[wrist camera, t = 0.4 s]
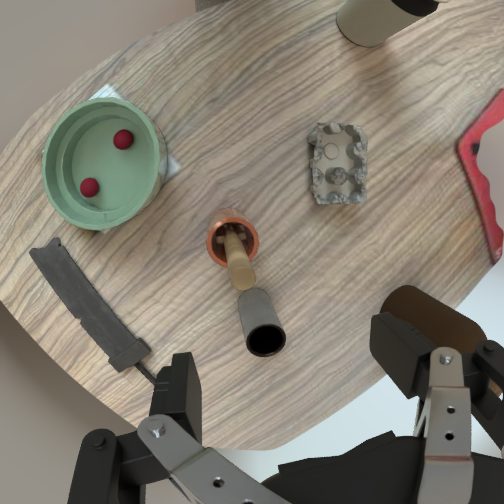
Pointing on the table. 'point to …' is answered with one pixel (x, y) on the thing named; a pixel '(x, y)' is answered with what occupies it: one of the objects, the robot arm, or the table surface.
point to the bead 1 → (89, 187)
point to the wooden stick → (236, 256)
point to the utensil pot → (218, 249)
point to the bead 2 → (123, 139)
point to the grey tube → (260, 323)
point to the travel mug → (381, 18)
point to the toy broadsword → (90, 308)
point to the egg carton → (339, 163)
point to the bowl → (103, 163)
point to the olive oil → (436, 321)
